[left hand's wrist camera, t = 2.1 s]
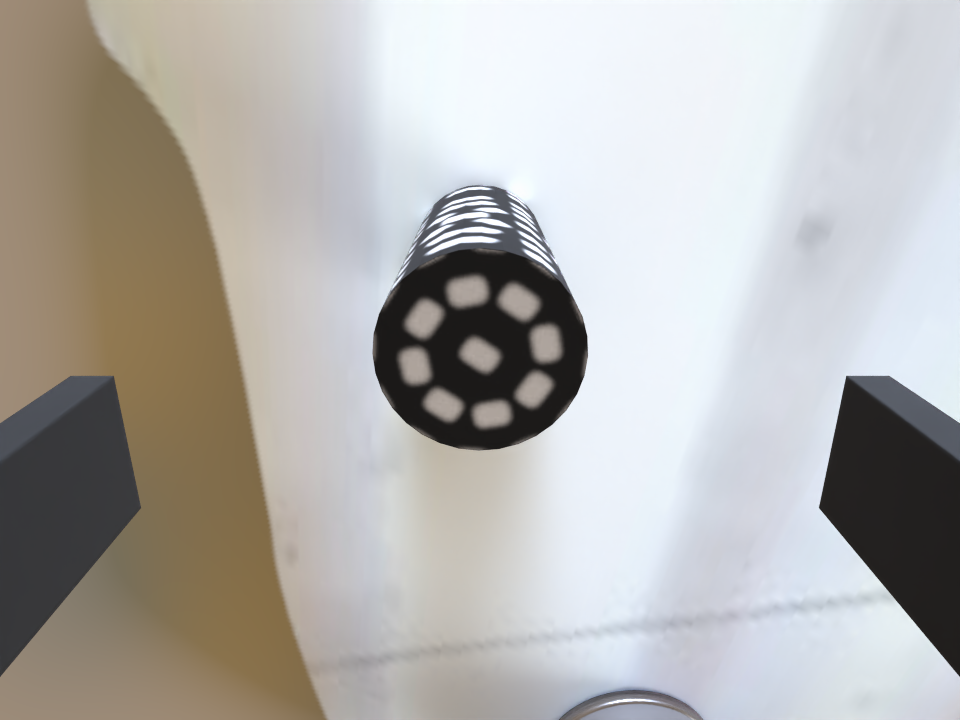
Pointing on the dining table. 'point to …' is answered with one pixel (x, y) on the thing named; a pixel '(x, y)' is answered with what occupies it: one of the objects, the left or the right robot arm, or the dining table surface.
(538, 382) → the black white spotted cylinder
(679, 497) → the dining table surface
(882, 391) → the left robot arm
